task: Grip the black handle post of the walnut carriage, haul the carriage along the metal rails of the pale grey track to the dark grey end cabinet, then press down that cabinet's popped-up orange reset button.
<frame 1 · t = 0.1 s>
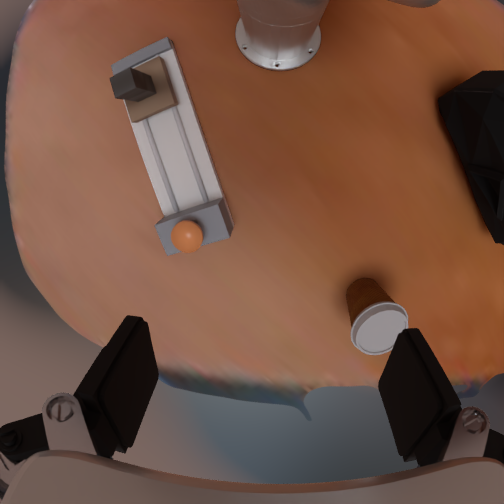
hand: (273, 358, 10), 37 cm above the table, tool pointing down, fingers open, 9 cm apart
carriage: (137, 86, 32), point 7 cm above the table, slide at -7.0 cm
disposable coffee cup: (362, 292, 51), on the table
rail track: (168, 131, 41), on the table
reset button: (188, 234, 40), point 7 cm above the table, slide at 0.0 cm
black hard case: (474, 161, 39), on the table
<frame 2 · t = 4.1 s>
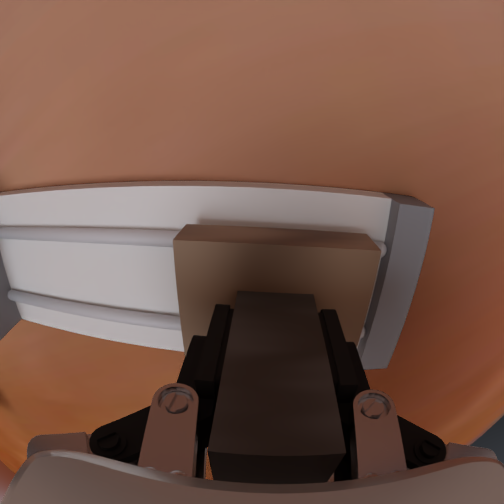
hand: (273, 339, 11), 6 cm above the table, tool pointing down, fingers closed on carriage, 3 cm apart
carriage: (273, 364, 10), point 7 cm above the table, slide at -7.0 cm, touching gripper
rail track: (151, 266, 17), on the table
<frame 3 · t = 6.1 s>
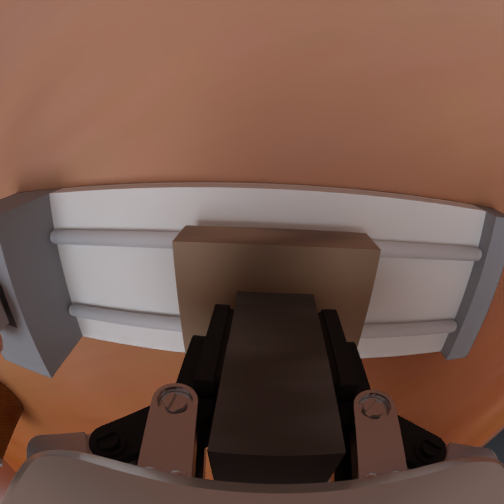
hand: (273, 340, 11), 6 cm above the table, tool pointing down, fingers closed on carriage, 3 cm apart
carriage: (273, 364, 10), point 7 cm above the table, slide at -0.3 cm, touching gripper
disposable coffee cup: (8, 394, 27), on the table
rail track: (266, 273, 16), on the table
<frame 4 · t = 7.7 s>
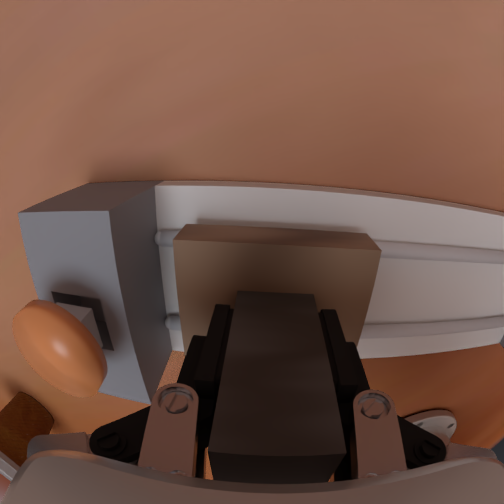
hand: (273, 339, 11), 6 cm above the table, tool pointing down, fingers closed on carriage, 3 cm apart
carriage: (273, 364, 10), point 7 cm above the table, slide at 6.7 cm, touching gripper
disposable coffee cup: (36, 407, 27), on the table
rail track: (384, 277, 16), on the table
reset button: (66, 340, 10), point 7 cm above the table, slide at 0.0 cm
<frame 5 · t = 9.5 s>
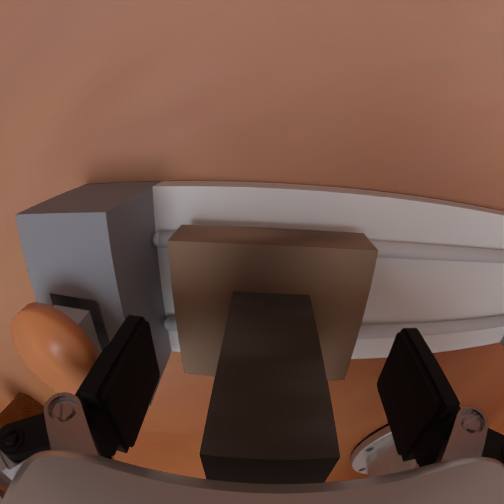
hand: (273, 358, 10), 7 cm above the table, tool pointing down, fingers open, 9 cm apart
carriage: (268, 365, 10), point 7 cm above the table, slide at 6.8 cm
disposable coffee cup: (36, 408, 27), on the table
rail track: (384, 277, 16), on the table
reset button: (64, 343, 10), point 7 cm above the table, slide at 0.0 cm, touching gripper
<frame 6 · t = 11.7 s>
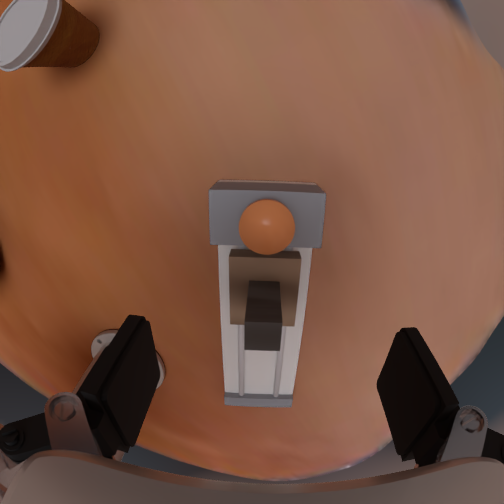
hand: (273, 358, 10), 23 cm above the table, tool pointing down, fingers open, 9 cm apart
carriage: (263, 307, 27), point 7 cm above the table, slide at 6.8 cm
disposable coffee cup: (79, 44, 24), on the table
rail track: (262, 321, 37), on the table
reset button: (266, 224, 24), point 7 cm above the table, slide at 0.0 cm
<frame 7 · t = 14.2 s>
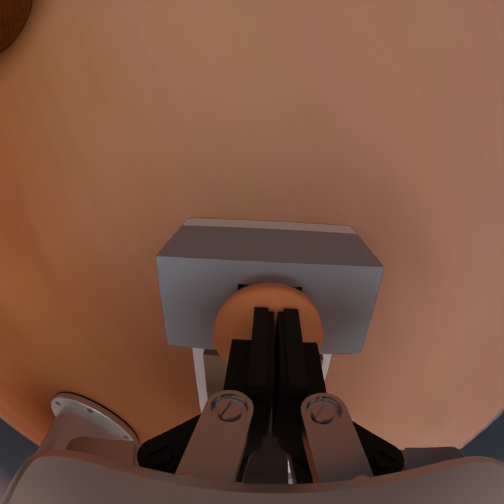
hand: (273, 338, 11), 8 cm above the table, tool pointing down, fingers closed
carriage: (258, 430, 15), point 7 cm above the table, slide at 6.8 cm
disposable coffee cup: (10, 22, 12), on the table
rail track: (257, 407, 24), on the table
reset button: (268, 323, 12), point 7 cm above the table, slide at 0.6 cm, touching gripper
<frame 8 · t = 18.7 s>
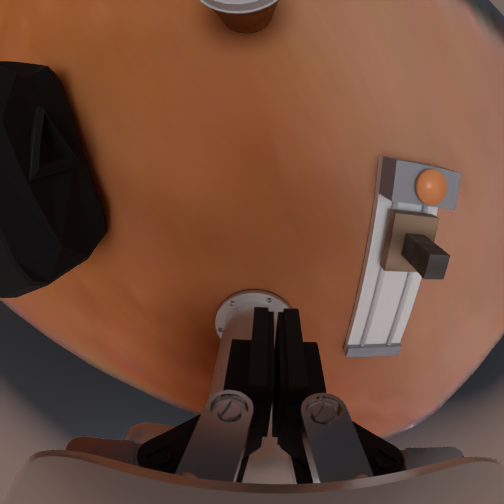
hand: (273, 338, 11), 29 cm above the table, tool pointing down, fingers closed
carriage: (420, 251, 32), point 7 cm above the table, slide at 6.8 cm
disposable coffee cup: (248, 14, 29), on the table
rail track: (390, 274, 42), on the table
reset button: (428, 185, 30), point 6 cm above the table, slide at 1.5 cm
black hard case: (69, 155, 37), on the table
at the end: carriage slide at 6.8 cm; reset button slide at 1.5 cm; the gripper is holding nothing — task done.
